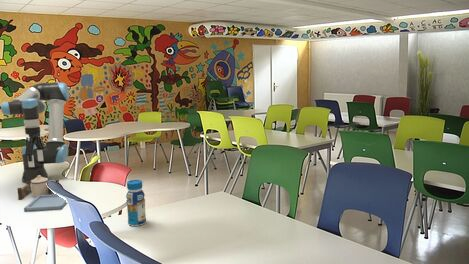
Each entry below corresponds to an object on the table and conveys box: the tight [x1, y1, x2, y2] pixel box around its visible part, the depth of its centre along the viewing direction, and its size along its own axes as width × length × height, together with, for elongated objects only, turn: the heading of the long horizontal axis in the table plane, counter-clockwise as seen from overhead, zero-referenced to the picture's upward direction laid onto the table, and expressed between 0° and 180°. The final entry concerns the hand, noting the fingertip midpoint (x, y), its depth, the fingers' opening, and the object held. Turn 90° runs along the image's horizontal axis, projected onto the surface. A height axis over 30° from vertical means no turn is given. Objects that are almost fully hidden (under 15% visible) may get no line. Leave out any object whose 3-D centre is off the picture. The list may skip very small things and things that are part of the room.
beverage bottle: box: [125, 179, 147, 227], centre depth 181 cm, size 8×8×20 cm
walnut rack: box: [16, 179, 60, 201], centre depth 226 cm, size 14×18×6 cm
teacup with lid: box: [30, 175, 49, 199], centre depth 226 cm, size 12×9×12 cm
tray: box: [23, 193, 68, 213], centre depth 211 cm, size 20×18×2 cm
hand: (36, 163), depth 223 cm, fingers open, 13 cm apart
